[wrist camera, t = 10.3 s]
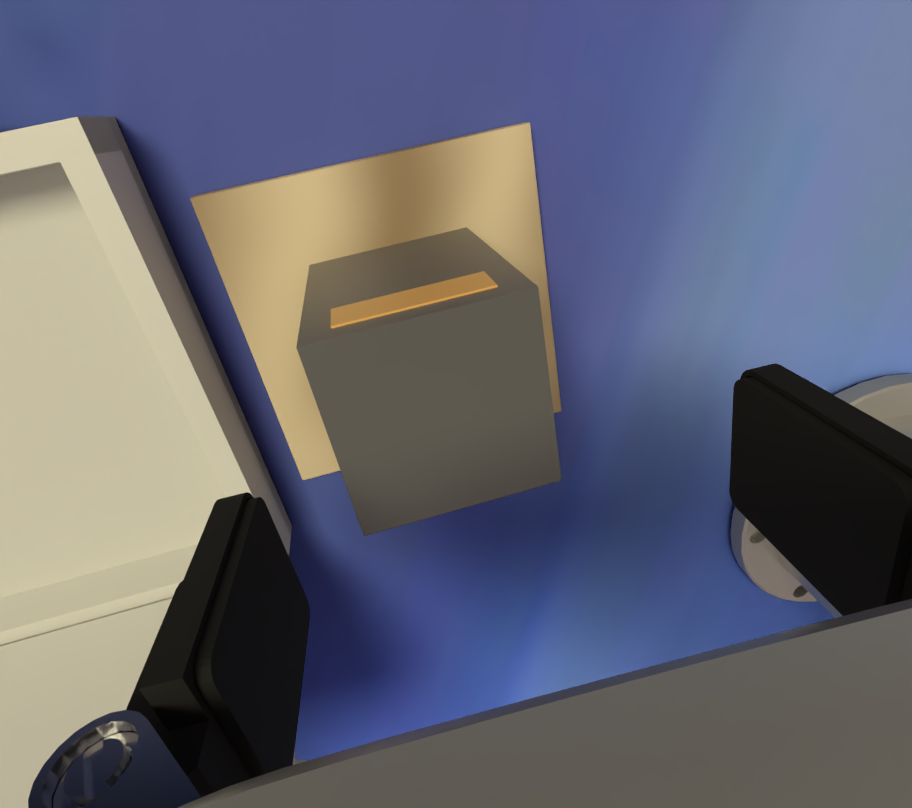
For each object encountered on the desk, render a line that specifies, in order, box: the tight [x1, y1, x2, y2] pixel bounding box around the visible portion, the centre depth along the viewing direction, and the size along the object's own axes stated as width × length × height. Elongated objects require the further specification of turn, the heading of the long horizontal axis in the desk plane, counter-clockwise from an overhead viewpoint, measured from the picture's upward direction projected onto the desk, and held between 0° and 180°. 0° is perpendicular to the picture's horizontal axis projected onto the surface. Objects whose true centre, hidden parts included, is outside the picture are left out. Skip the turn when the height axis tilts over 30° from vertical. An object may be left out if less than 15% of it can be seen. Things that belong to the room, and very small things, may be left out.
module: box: [296, 227, 562, 536], centre depth 15 cm, size 5×5×7 cm
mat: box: [190, 123, 561, 480], centre depth 19 cm, size 10×10×1 cm
